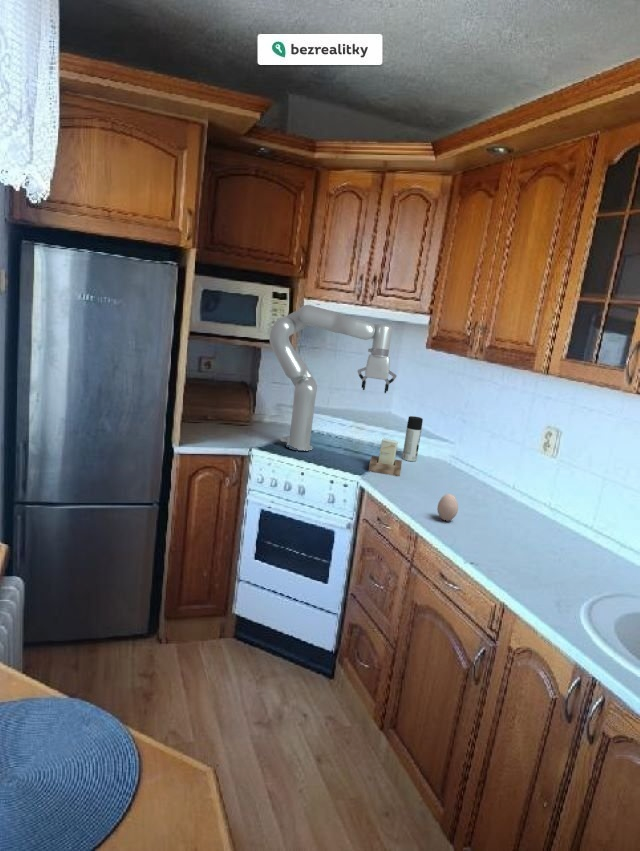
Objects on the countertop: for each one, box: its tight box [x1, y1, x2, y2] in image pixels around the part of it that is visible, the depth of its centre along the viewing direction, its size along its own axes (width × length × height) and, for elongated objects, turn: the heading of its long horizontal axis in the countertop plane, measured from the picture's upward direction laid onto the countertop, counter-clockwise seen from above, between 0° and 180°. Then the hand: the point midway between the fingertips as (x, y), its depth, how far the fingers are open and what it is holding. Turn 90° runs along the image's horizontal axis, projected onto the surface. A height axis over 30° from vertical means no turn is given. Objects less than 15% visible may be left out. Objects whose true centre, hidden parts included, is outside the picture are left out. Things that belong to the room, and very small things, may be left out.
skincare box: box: [378, 438, 399, 465], centre depth 241 cm, size 6×4×12 cm
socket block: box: [368, 455, 403, 477], centre depth 242 cm, size 13×13×4 cm
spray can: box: [402, 415, 424, 462], centre depth 262 cm, size 7×7×20 cm
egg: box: [437, 493, 459, 522], centre depth 190 cm, size 7×7×9 cm
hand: (374, 391), depth 253 cm, fingers open, 9 cm apart
